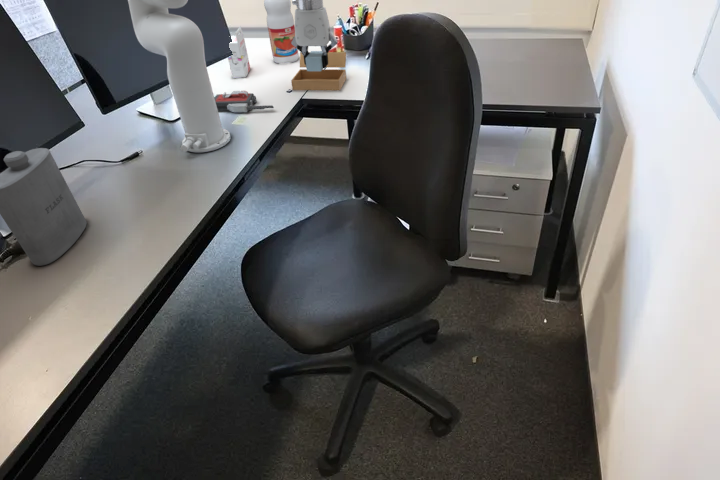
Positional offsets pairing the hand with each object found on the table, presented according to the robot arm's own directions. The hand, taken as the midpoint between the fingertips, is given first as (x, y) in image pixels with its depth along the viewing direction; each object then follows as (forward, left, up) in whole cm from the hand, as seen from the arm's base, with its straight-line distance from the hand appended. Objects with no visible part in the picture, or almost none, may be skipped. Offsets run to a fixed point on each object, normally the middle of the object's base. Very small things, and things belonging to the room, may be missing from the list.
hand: (316, 66), depth 152 cm
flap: (+7, 0, 0) cm, 7 cm away
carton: (0, 0, -6) cm, 6 cm away
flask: (-84, +32, -6) cm, 90 cm away
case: (0, 0, 0) cm, 0 cm away
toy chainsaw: (-18, +19, -6) cm, 27 cm away
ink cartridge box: (+10, +31, -6) cm, 33 cm away
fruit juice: (+24, +19, -6) cm, 31 cm away
